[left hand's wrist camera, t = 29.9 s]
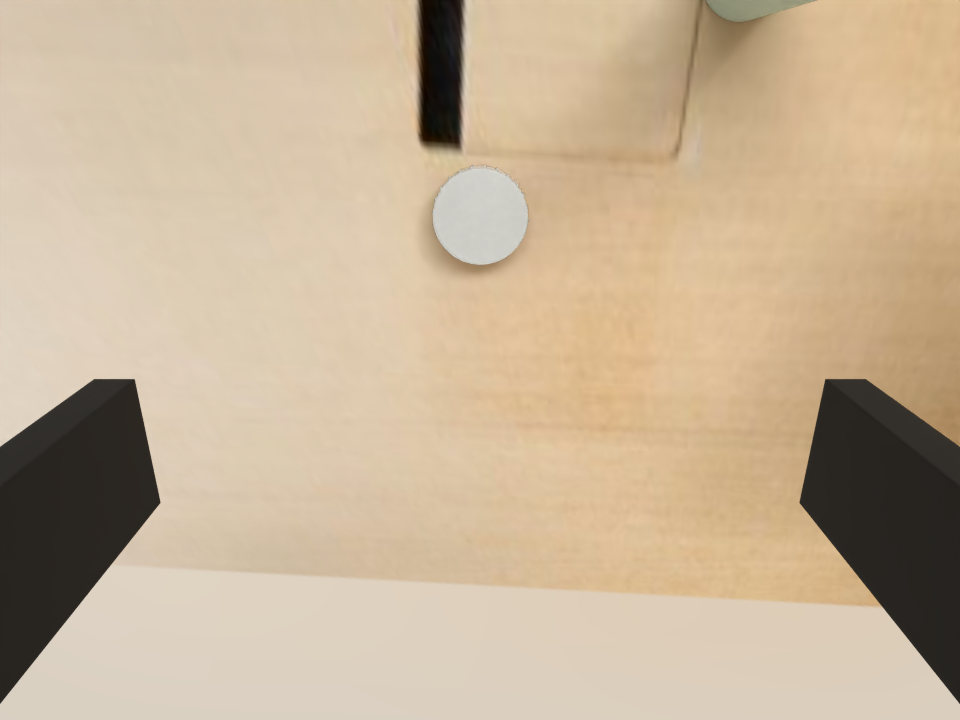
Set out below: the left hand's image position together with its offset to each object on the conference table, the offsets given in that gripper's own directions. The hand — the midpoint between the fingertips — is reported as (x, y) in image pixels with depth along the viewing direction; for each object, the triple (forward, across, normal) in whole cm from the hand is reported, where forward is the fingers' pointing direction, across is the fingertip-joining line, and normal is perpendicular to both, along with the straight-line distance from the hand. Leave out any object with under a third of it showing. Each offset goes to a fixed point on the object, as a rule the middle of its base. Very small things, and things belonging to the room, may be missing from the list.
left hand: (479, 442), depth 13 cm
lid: (+28, 0, 0) cm, 28 cm away
